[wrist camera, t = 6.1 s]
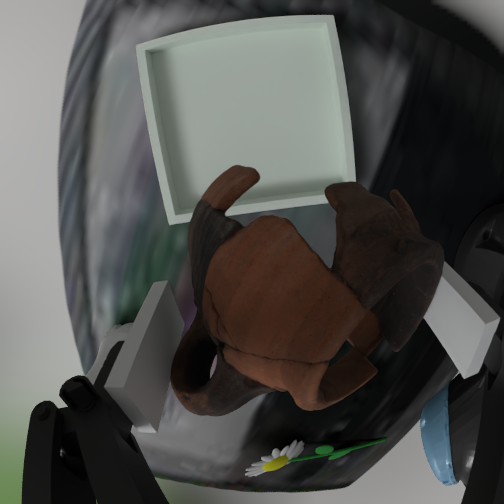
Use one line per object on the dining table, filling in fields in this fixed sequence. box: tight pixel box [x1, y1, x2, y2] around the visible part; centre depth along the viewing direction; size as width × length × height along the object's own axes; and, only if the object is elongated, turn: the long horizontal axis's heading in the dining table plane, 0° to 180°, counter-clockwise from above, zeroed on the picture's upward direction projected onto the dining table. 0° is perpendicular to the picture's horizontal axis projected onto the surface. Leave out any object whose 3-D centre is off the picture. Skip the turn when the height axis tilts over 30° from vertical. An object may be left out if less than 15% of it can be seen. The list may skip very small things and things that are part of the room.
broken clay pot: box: [170, 165, 444, 416], centre depth 12 cm, size 12×10×8 cm
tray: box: [136, 15, 356, 225], centre depth 24 cm, size 18×18×2 cm
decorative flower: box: [245, 438, 386, 477], centre depth 47 cm, size 13×5×30 cm
